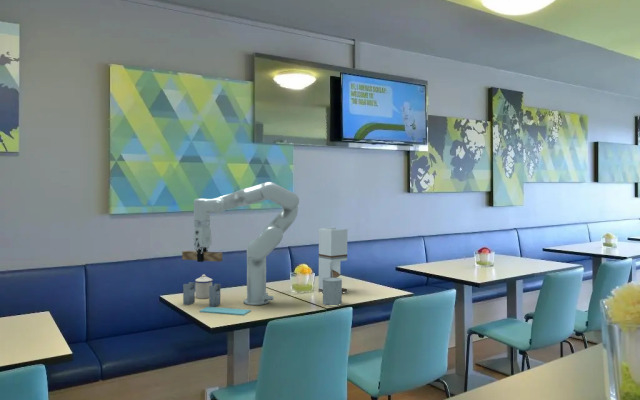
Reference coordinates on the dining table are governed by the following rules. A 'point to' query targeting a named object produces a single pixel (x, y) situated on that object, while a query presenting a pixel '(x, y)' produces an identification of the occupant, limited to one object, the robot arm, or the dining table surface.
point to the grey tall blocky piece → (331, 253)
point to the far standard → (189, 293)
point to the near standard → (214, 295)
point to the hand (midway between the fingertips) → (202, 260)
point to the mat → (225, 311)
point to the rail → (207, 256)
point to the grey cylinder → (332, 291)
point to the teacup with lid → (202, 287)
